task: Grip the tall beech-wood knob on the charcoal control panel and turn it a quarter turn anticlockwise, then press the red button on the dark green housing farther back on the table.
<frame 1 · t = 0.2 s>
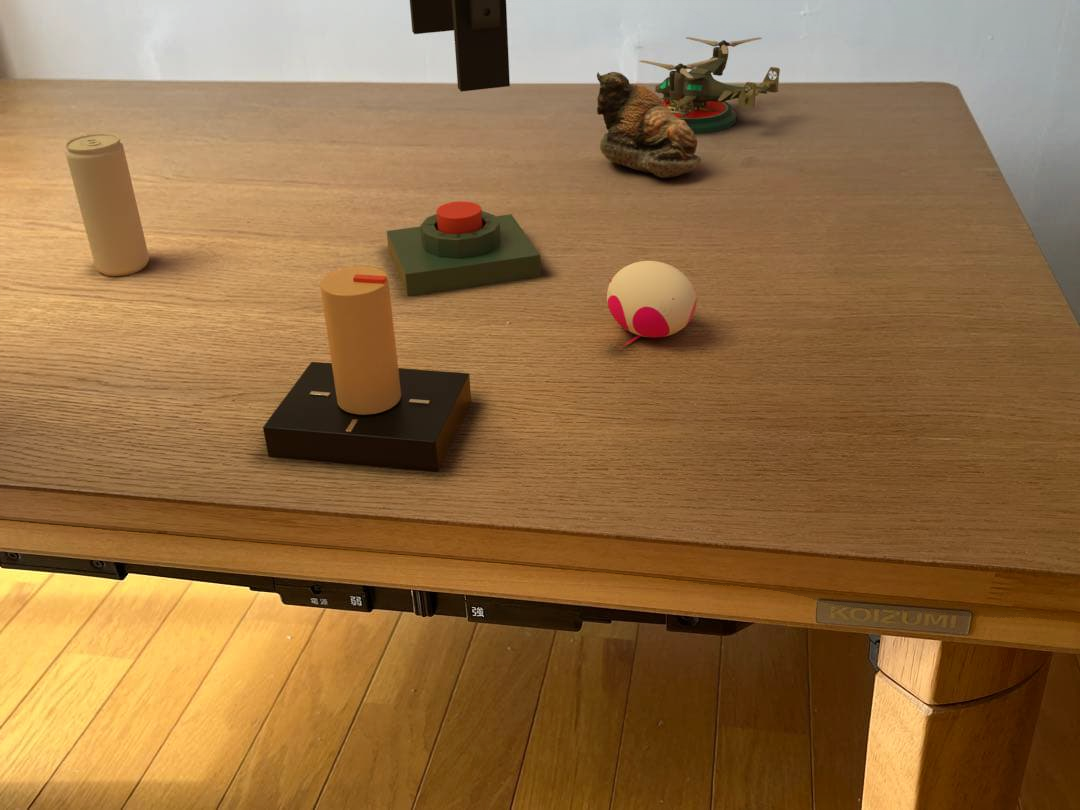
hand: (456, 57, 65), 25 cm above the table, tool pointing down, fingers open, 13 cm apart
button: (459, 218, 99), point 4 cm above the table, slide at 0.1 cm
knob: (361, 339, 74), point 7 cm above the table, hinge at 0.0°
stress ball: (645, 336, 89), on the table
bison figurine: (644, 173, 120), on the table
toy helicopter: (704, 123, 134), on the table
control panel: (373, 429, 78), on the table
beverage can: (124, 269, 103), on the table
button box: (462, 264, 101), on the table
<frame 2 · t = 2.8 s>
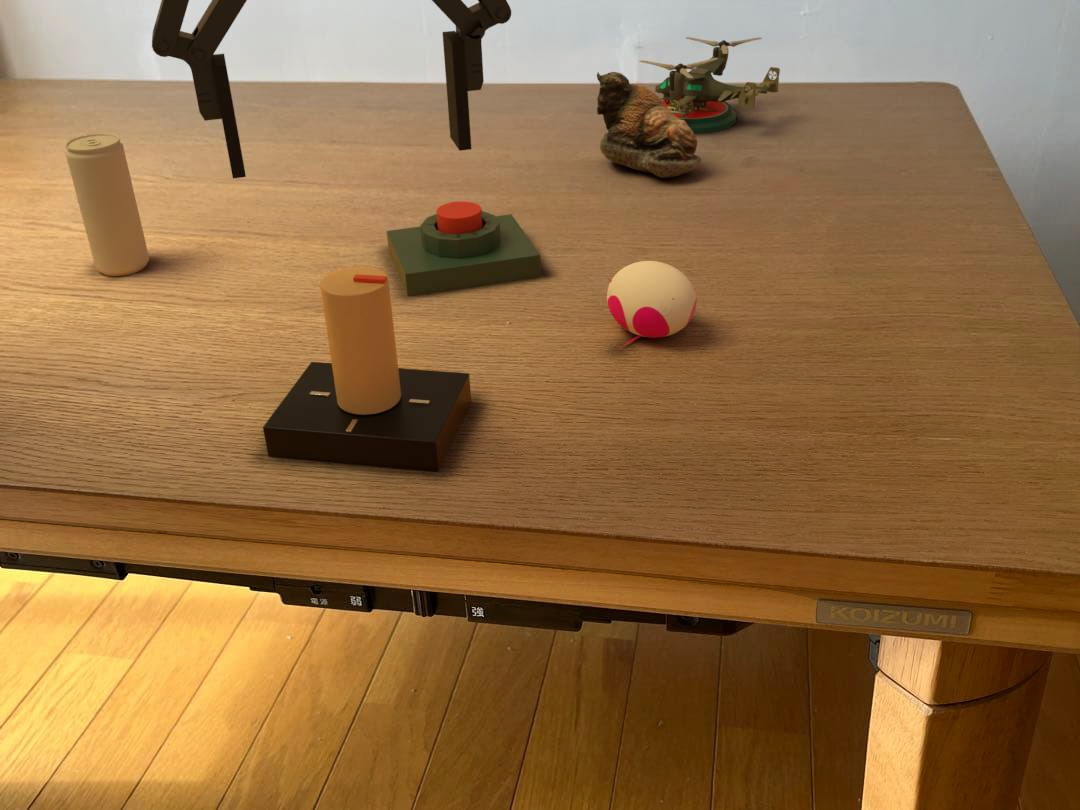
hand: (352, 157, 68), 20 cm above the table, tool pointing down, fingers open, 13 cm apart
nothing on the table moved.
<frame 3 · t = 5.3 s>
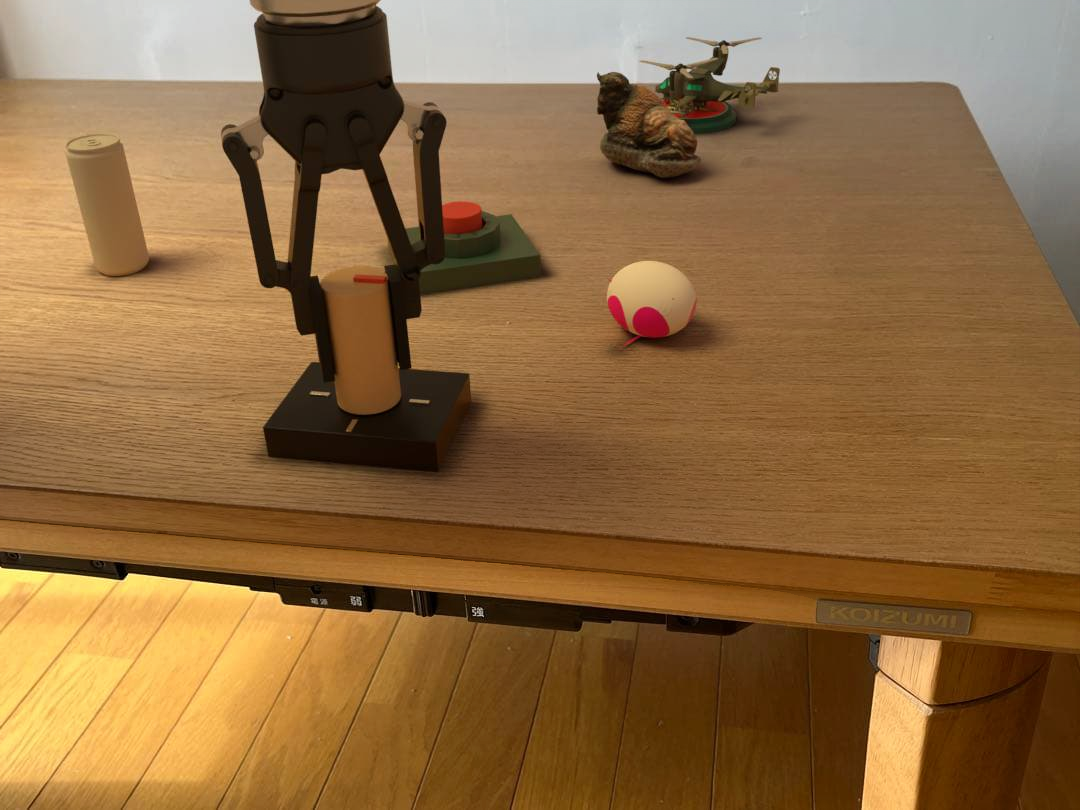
hand: (365, 365, 75), 5 cm above the table, tool pointing down, fingers closed on knob, 4 cm apart
knob: (361, 339, 74), point 7 cm above the table, hinge at 0.0°, touching gripper
everything else where it was.
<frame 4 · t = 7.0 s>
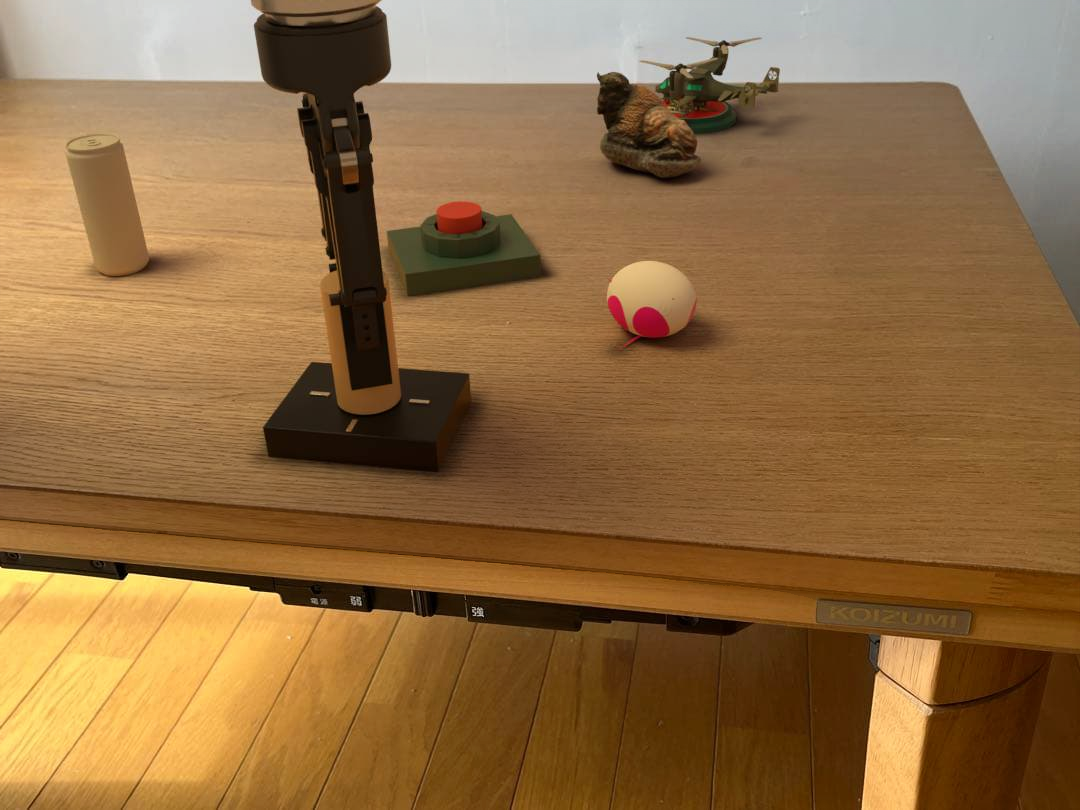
hand: (365, 365, 75), 5 cm above the table, tool pointing down, fingers closed on knob, 4 cm apart
knob: (361, 339, 74), point 7 cm above the table, hinge at 90.4°, touching gripper
everything else where it was.
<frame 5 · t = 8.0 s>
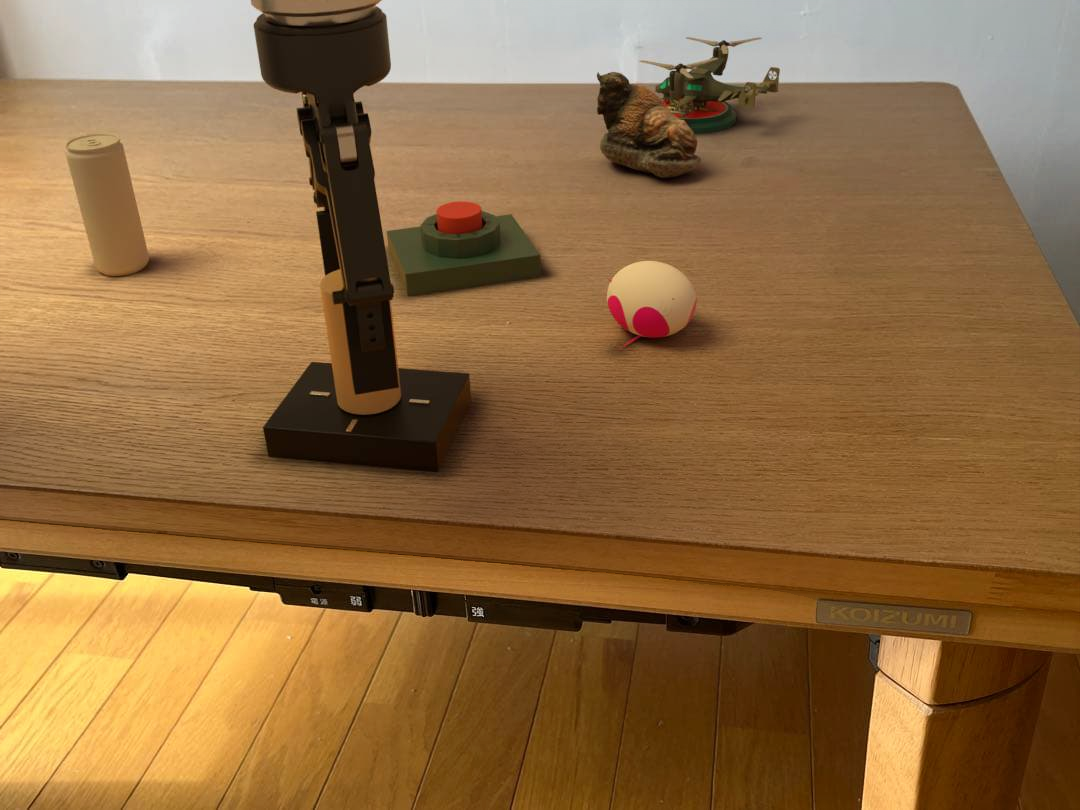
hand: (360, 339, 74), 7 cm above the table, tool pointing down, fingers open, 13 cm apart
knob: (361, 339, 74), point 7 cm above the table, hinge at 90.2°
everything else where it was.
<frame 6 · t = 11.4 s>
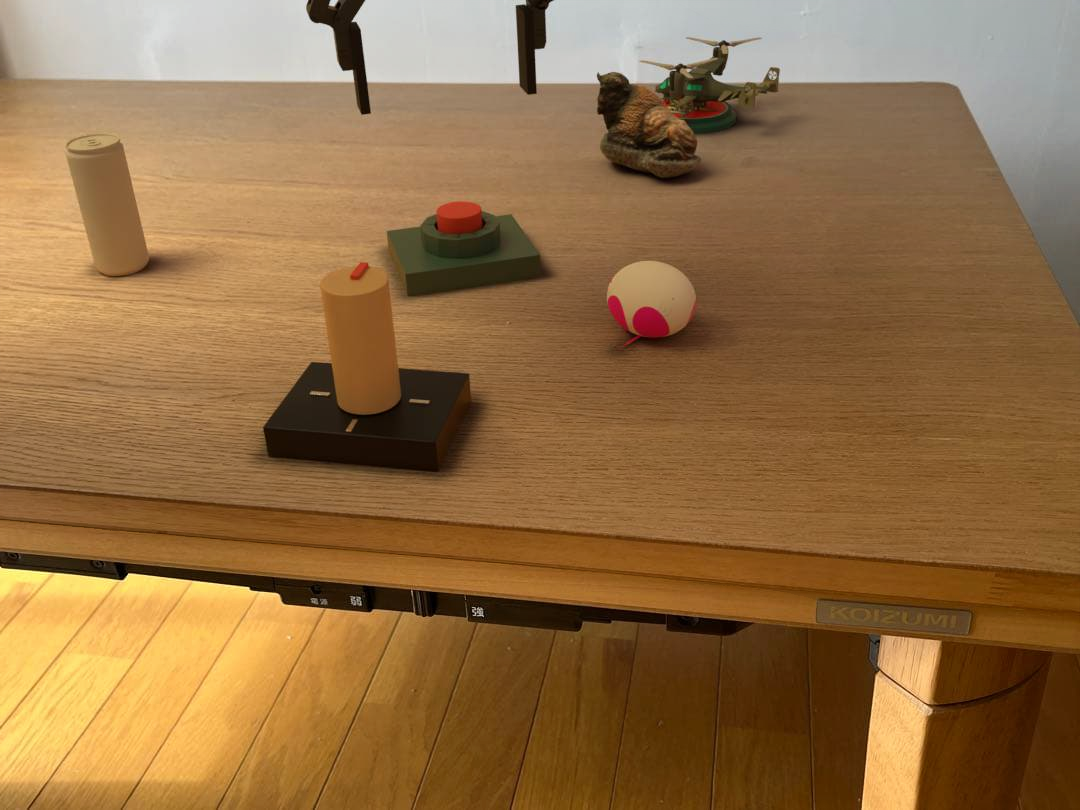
hand: (447, 100, 90), 16 cm above the table, tool pointing down, fingers open, 13 cm apart
nothing on the table moved.
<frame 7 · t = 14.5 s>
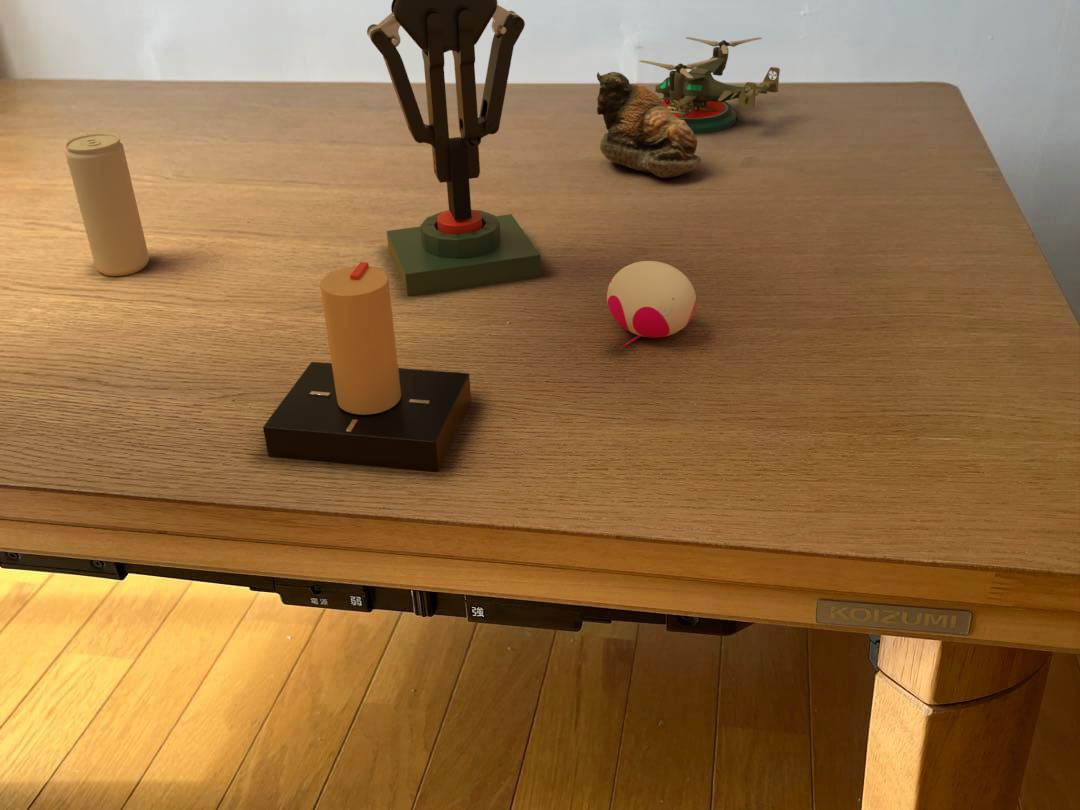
hand: (460, 213, 99), 5 cm above the table, tool pointing down, fingers closed
button: (460, 225, 99), point 4 cm above the table, slide at -0.6 cm, touching gripper
everything else where it was.
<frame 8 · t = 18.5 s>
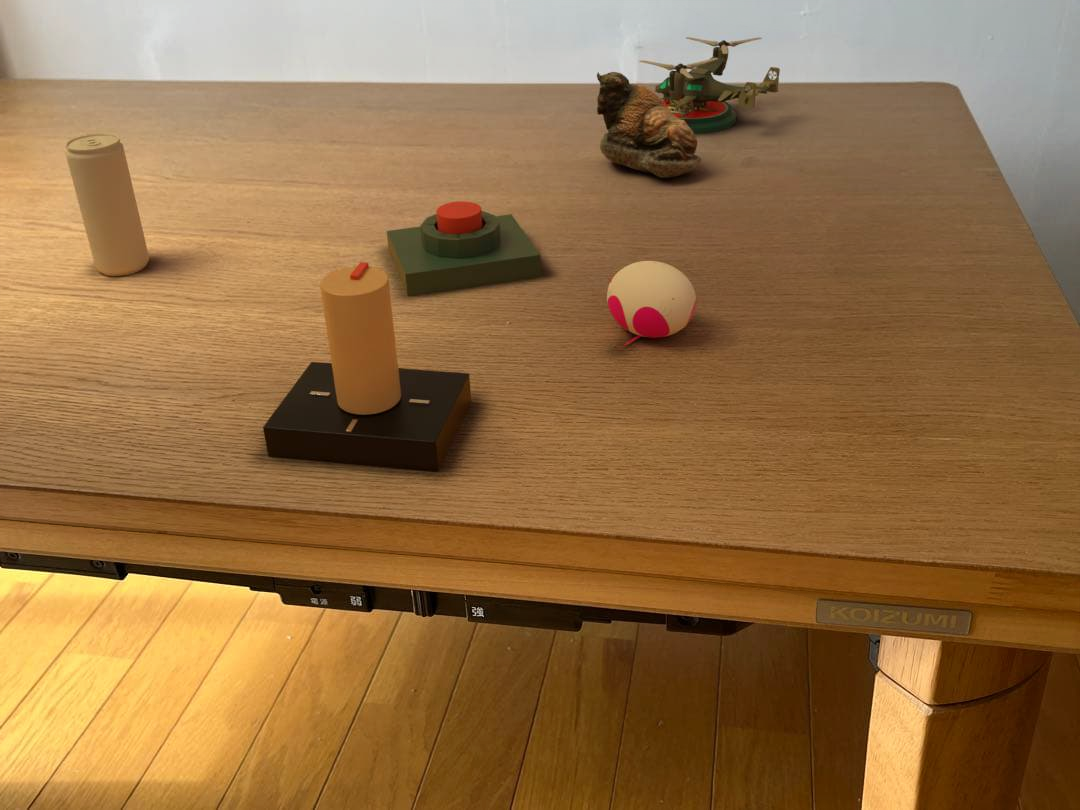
button: (459, 218, 99), point 4 cm above the table, slide at 0.1 cm
everything else where it was.
at the end: knob at +90° (first picture: +0°); button pushed in 1.0 cm at the most during the clip, back to where it started at the end; button slide at 0.1 cm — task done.
